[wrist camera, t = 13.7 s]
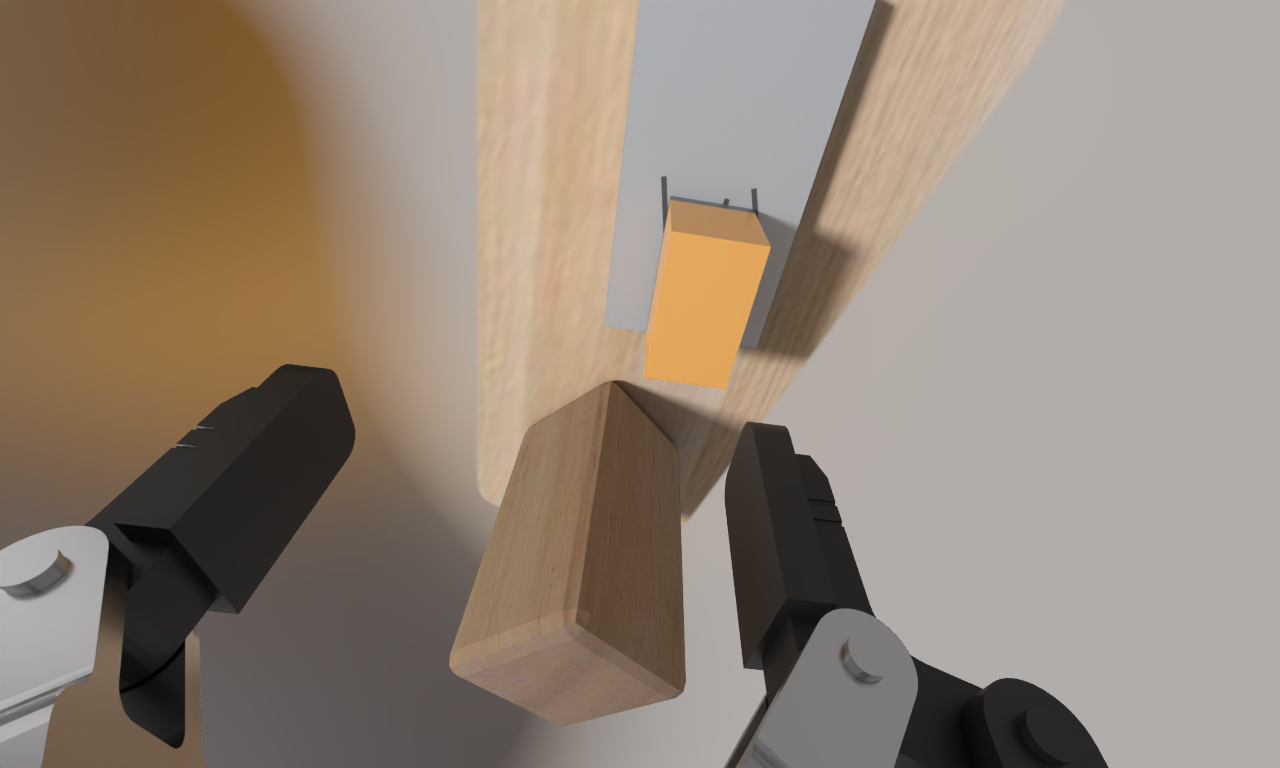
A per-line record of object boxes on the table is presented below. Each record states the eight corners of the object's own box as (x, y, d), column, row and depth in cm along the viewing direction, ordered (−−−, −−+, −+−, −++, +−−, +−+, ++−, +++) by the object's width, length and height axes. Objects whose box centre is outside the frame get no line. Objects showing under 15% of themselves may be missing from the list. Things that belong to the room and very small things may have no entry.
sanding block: (670, 195, 28) (671, 231, 24) (753, 209, 29) (771, 246, 24) (646, 327, 34) (644, 377, 29) (716, 337, 34) (725, 389, 29)
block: (682, 447, 43) (693, 701, 27) (596, 489, 47) (560, 734, 31) (612, 372, 38) (574, 625, 22) (522, 425, 42) (435, 674, 26)
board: (646, -49, 23) (645, -53, 22) (868, -8, 24) (879, -9, 23) (605, 315, 35) (603, 326, 34) (753, 337, 36) (756, 348, 35)
